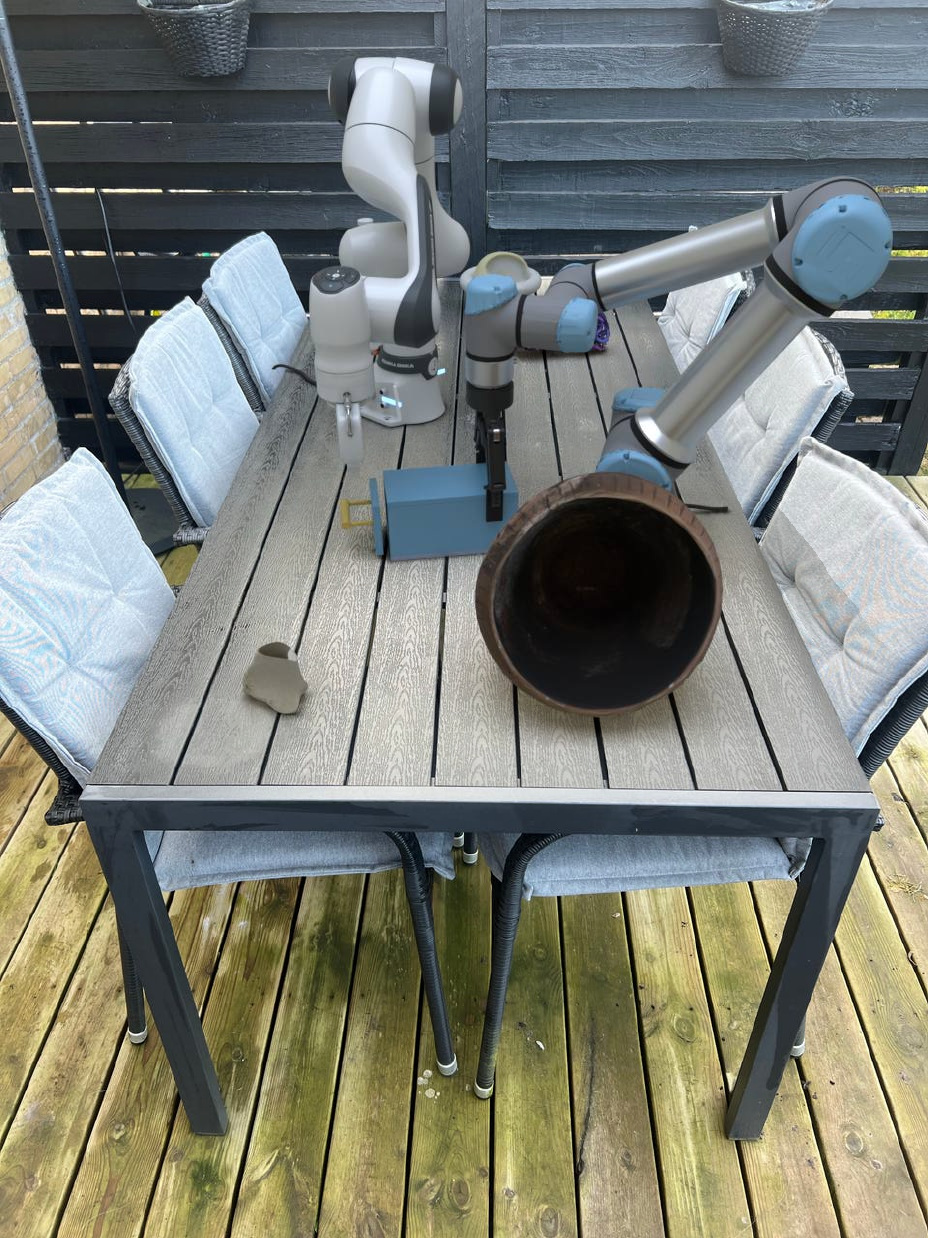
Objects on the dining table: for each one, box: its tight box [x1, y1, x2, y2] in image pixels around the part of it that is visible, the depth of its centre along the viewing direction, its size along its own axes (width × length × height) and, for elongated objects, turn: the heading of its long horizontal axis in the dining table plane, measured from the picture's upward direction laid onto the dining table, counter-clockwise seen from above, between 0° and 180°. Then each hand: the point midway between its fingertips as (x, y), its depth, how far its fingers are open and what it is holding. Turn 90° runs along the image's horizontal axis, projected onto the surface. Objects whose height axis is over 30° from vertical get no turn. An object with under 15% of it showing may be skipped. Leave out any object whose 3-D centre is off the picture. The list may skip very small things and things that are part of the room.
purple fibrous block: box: [515, 312, 611, 354], centre depth 226 cm, size 13×11×30 cm
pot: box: [474, 471, 724, 718], centre depth 130 cm, size 32×32×30 cm
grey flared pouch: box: [241, 641, 309, 715], centre depth 126 cm, size 9×8×10 cm
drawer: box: [339, 477, 384, 556], centre depth 157 cm, size 25×10×9 cm, turn 98°
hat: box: [459, 251, 543, 295], centre depth 248 cm, size 25×22×15 cm
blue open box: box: [382, 460, 520, 562], centre depth 158 cm, size 22×11×11 cm, turn 98°
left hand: (353, 462), depth 150 cm, fingers open, 7 cm apart
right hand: (488, 502), depth 158 cm, fingers closed on blue open box, 11 cm apart
